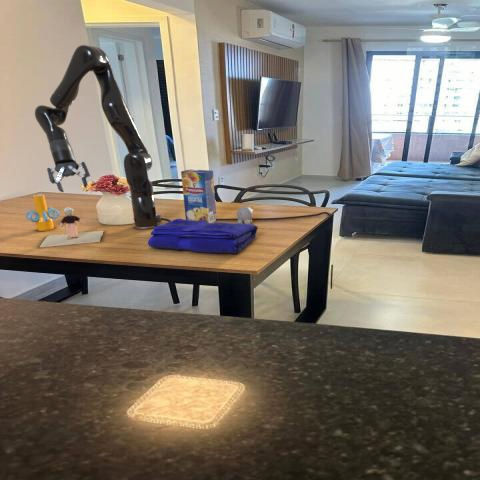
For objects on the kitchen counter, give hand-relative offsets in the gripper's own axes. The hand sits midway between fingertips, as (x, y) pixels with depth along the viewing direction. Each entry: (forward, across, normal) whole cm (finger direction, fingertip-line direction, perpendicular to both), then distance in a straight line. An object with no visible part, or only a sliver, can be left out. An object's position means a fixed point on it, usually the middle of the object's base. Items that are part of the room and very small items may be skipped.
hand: (74, 189), depth 158 cm
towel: (+40, +41, -23) cm, 61 cm away
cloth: (+21, -5, -2) cm, 21 cm away
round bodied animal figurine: (+34, +64, -3) cm, 73 cm away
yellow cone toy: (+10, -16, +15) cm, 25 cm away
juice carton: (+26, +46, +6) cm, 53 cm away
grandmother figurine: (+20, -5, -2) cm, 21 cm away
